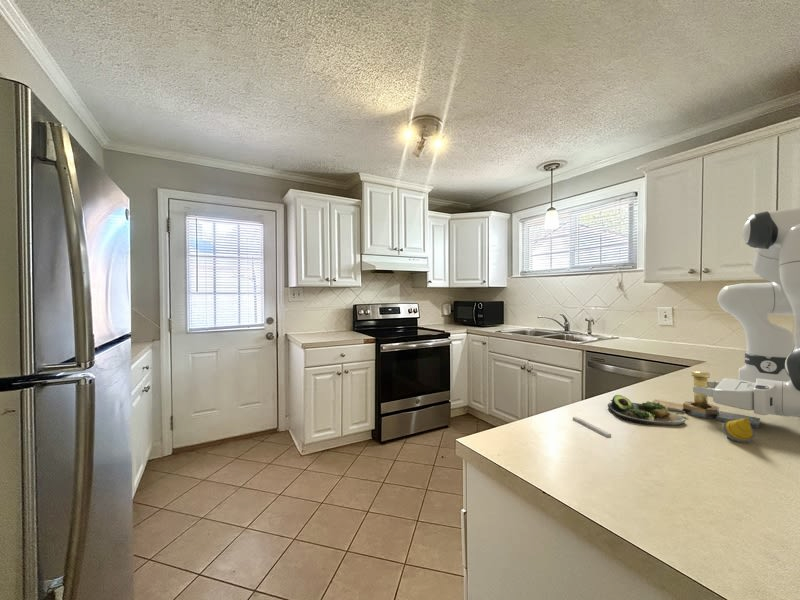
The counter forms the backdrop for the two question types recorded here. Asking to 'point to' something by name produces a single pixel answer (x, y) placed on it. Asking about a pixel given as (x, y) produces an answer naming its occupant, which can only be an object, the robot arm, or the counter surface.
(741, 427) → the lemon wedge on dish
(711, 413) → the hinge
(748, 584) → the counter surface
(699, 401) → the hinge pin
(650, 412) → the salad plate
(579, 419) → the white rod
